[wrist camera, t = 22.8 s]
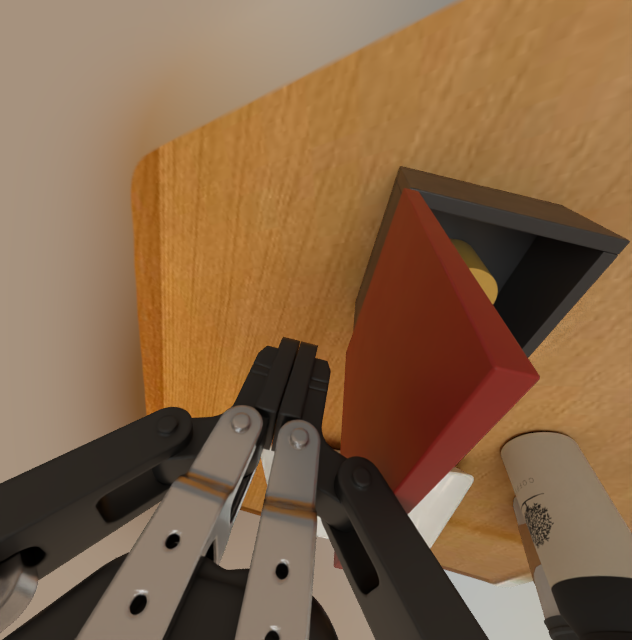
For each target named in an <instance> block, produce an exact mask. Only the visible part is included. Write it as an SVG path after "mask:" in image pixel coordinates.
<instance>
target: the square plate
mask: <svg viewBox="0 0 632 640" xmlns="http://www.w3.org/2000/svg"><path fill="white" fill-rule="evenodd" d="M271 449H272V445H271V447H270V450H266V449H263V451H262V454H261V460H262V465H263V469H264V473H265V477H266V482H267V485H268V480H269V475H270V471H271V466H272V461H273V457H274V451H271ZM334 450H335V451H337V452H338V453H340V450H336V449H334ZM473 481H474V478H473V476H472V475H470V474H468V473H466V472H464V471H462V470H460V469H458V468H456V467H454V468H453V469H452V470H451V471H450V472H449V473H448V474H447V475H446V476H445V477H444V478H443V479H442V480H441V481H440V482H439V483H438V484H437V485H436V486H435V487H434V488H433V489H432V490H431V491H430V492H429V493H428V494H427V495H426V496H425V497H424V498H423V500H422V501H421V502H420V503H419V504H418V505H417V506H416V507H415V508H414V509H413V510H412V511H411V512H410V513H409V514H408V516H409V517H410V519H411V520H412V522H413V524H414V525H415V527H416V528H417V530H418V531H419V533H420V534H421V536H422V537H423V539H424V540H425V542H426V544H427V545H428V547H429V548H431V547H432V545H433V544H434V542H435V540H436V539H437V537H438V536H439V534H440V533H441V531H442V530H443V528H444V527H445V525H446V523H447V522H448V520H449V519H450V517H451V516H452V514H453V513H454V511H455V510H456V508H457V507H458V505H459V504H460V502H461V501H462V499H463V497H464V496H465V494H466V493H467V491H468V489H469V488H470V486H471V484H472V483H473ZM317 537H323V538H328V535H327V533H326V531H325V529H324V527H323V524H322V522H321V518H320V517H319V516H317ZM328 539H329V538H328Z"/></svg>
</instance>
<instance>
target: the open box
mask: <svg viewBox="0 0 632 640" xmlns="http://www.w3.org/2000/svg"><path fill="white" fill-rule="evenodd" d="M404 188H407V189H411V190H415V191H418V192H419V193H420V194H421V196H422V198H423V199H424V201H425V202H426V204H427V205H428V207H429V208H430V210H431V211H432V213H433V214H434V216H435V217H436V219H437V220H438V222H439V223H440V225H441V227H442V228H443V230H444V231H445V233H446V234H447V236H448V237H449V239H458V240H462V241H464V242H466V243H468V244H469V245H470V246H471V247H472V248H473V250H474V251H475V252H476V254H477V255H478V257H479V258H480V259H481V261H482V262H483V264H484V265H485V266H486V268H487V269H488V271H489V272H490V273H491V275H492V276H493V278H494V279H495V281H496V283H497V287H498V293H497V298H496V300H495V302H494V304H493V306H494V307H495V309H496V310H497V312H498V313H499V315H500V316H501V318H502V320H503V321H504V323H505V324H506V326H507V327H508V329H509V330H510V332H511V333H512V335H513V336H514V338H515V339H516V341H517V342H518V344H519V345H520V347H521V348H522V350H523V352H524V353H525V355H526V356H527V358H528V357H529V356H530V355H531V354H532V353H533V352H534V351H535V349H536V348H537V347H538V346H539V345H540V344H541V343H542V342H543V340H544V339H545V338H546V337H547V336H548V335H549V334H550V332H551V331H552V330H553V329H554V328H555V327H556V326H557V324H558V323H559V322H560V321H561V320H562V319H563V318H564V317H565V315H566V314H567V313H568V312H569V311H570V310H571V309H572V307H573V306H574V305H575V304H576V303H577V302H578V301H579V299H580V298H581V297H582V296H583V295H584V294H585V293H586V292H587V290H588V289H589V288H590V287H591V286H592V285H593V284H594V282H595V281H596V280H597V279H598V278H599V277H600V276H601V274H602V273H603V272H604V271H605V270H606V269H607V268H608V267H609V265H610V264H611V263H612V262H613V261H614V260H615V259H616V257H617V256H618V255H617V254H620V252H621V251H622V250H623V249H624V248H625V247H626V246H627V245H628V243H629V242H630V241H629V240H627V239H626V238H624V237H622V236H620V235H618V234H616V233H614V232H612V231H610V230H608V229H606V228H604V227H603V226H601V225H599V224H597V223H595V222H593V221H591V220H589V219H587V218H585V217H583V216H581V215H580V214H578V213H576V212H574V211H572V210H570V209H568V208H566V207H564V206H562V205H559V204H554V203H550V202H546V201H542V200H538V199H534V198H530V197H526V196H521V195H517V194H513V193H509V192H505V191H501V190H497V189H493V188H489V187H484V186H480V185H476V184H472V183H468V182H464V181H460V180H456V179H451V178H447V177H443V176H439V175H435V174H431V173H427V172H423V171H419V170H414V169H410V168H406V167H402V166H400V168H399V171H398V174H397V177H396V180H395V183H394V186H393V189H392V192H391V195H390V198H389V201H388V204H387V208H386V211H385V214H384V217H383V220H382V223H381V226H380V229H379V232H378V235H377V238H376V241H375V244H374V247H373V250H372V253H371V256H370V259H369V262H368V265H367V268H366V271H365V274H364V277H363V281H362V284H361V287H360V290H359V293H358V296H357V299H356V304H355V315H354V328H353V332H354V329H355V326H356V323H357V320H358V317H359V314H360V311H361V309H362V306H363V303H364V300H365V297H366V294H367V291H368V289H369V286H370V283H371V280H372V277H373V274H374V271H375V269H376V266H377V263H378V260H379V257H380V254H381V251H382V249H383V246H384V243H385V240H386V237H387V234H388V231H389V229H390V226H391V223H392V220H393V217H394V214H395V211H396V208H397V206H398V203H399V200H400V197H401V194H402V191H403V189H404Z"/></svg>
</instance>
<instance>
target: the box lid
mask: <svg viewBox="0 0 632 640" xmlns="http://www.w3.org/2000/svg"><path fill="white" fill-rule="evenodd" d="M539 379H540V376H539V374H538V373H537V371H536V370H535V368H534V367H533V365H532V364H531V362H530V361H529V359H528V358H527V356H526V355H525V353H524V352H523V350H522V348H521V347H520V345H519V344H518V342H517V341H516V339H515V338H514V336H513V335H512V333H511V332H510V330H509V329H508V327H507V326H506V324H505V323H504V321H503V320H502V318H501V316H500V315H499V313H498V312H497V310H496V309H495V307H494V306H493V304H492V303H491V301H490V300H489V298H488V297H487V295H486V294H485V292H484V291H483V289H482V287H481V286H480V284H479V283H478V281H477V280H476V278H475V277H474V275H473V274H472V272H471V271H470V269H469V268H468V266H467V265H466V263H465V262H464V260H463V259H462V257H461V255H460V254H459V252H458V251H457V249H456V248H455V246H454V245H453V243H452V242H451V240H450V239H449V237H448V236H447V234H446V233H445V231H444V230H443V228H442V227H441V225H440V223H439V222H438V220H437V219H436V217H435V216H434V214H433V213H432V211H431V210H430V208H429V207H428V205H427V204H426V202H425V201H424V199H423V198H422V196H421V194H420V193H419V192H418V191H415V190H411V189H407V188H404V189H403V191H402V194H401V197H400V200H399V203H398V206H397V208H396V211H395V214H394V217H393V220H392V223H391V226H390V229H389V231H388V234H387V237H386V240H385V243H384V246H383V249H382V251H381V254H380V257H379V260H378V263H377V266H376V269H375V271H374V274H373V277H372V280H371V283H370V286H369V289H368V291H367V294H366V297H365V300H364V303H363V306H362V309H361V311H360V314H359V317H358V320H357V323H356V326H355V329H354V332H353V334H352V337H351V340H350V343H349V346H348V349H347V352H346V364H345V381H344V398H343V415H342V433H341V450H340V454H341V455H343V456H344V457H346V458H349V457H353V456H359V457H363V458H366V459H368V460H369V461H371V462H372V463H373V464H374V465H375V466H376V467H377V468H378V470H379V471H380V473H381V474H382V476H383V477H384V479H385V480H386V482H387V484H388V485H389V487H390V488H391V490H392V491H393V493H394V494H395V496H396V497H397V499H398V500H399V502H400V504H401V505H402V507H403V508H404V510H405V511H406V513H407V514H409V513H410V512H411V511H412V510H413V509H414V508H415V507H416V506H417V505H418V504H419V503H420V502H421V501H422V500H423V498H424V497H425V496H426V495H427V494H428V493H429V492H430V491H431V490H432V489H433V488H434V487H435V486H436V485H437V484H438V483H439V482H440V481H441V480H442V479H443V478H444V477H445V476H446V475H447V474H448V473H449V472H450V471H451V470H452V469H453V468H454V467H455V466H456V465H457V464H458V463H459V462H460V460H461V459H462V458H463V457H464V456H465V455H466V454H467V453H468V452H469V451H470V450H471V449H472V448H473V447H474V446H475V445H476V444H477V443H478V442H479V441H480V440H481V439H482V438H483V437H484V436H485V435H486V434H487V433H488V432H489V431H490V430H491V429H492V428H493V427H494V426H495V425H496V424H497V422H498V421H499V420H500V419H501V418H502V417H503V416H504V415H505V414H506V413H507V412H508V411H509V410H510V409H511V408H512V407H513V406H514V405H515V404H516V403H517V402H518V401H519V400H520V399H521V398H522V397H523V396H524V395H525V394H526V393H527V392H528V391H529V390H530V389H531V388H532V387H533V386H534V384H535V383H536V382H537V381H538V380H539ZM334 567H335V568H339V569H343V568H342V566H341V564H340V561H339V559H338V557H337V555H336V553H335V552H334Z"/></svg>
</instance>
